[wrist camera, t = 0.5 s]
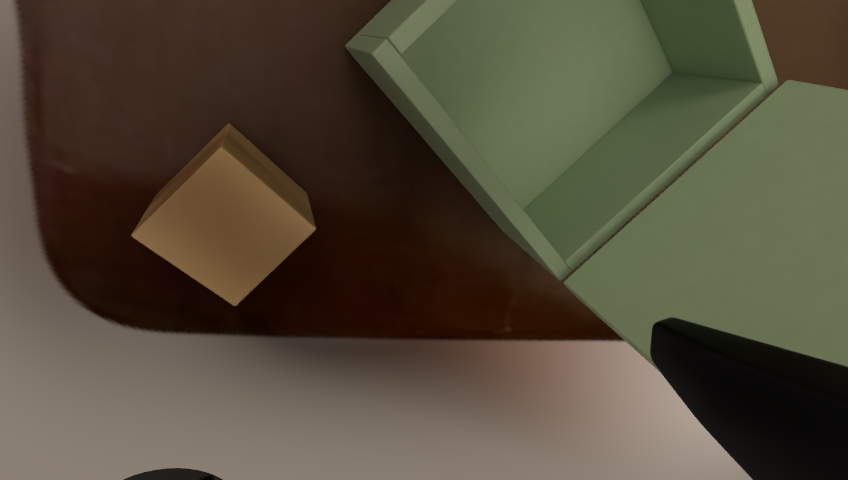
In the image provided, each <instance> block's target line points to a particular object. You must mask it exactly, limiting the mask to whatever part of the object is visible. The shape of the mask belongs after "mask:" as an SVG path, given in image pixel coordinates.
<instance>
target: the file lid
mask: <svg viewBox="0 0 848 480" xmlns="http://www.w3.org/2000/svg"><path fill="white" fill-rule="evenodd" d="M564 285H565V286H566V287H567V288H568V290H569V291H570V292H571V293H572V294H574V295H575V296H576V297H577V298H578V299H579V300H580V301H581V302H583V303H584V304H585V305H586V306H587V307H588V308H589V309H590V310H591V311H593V312H594V313H595V314H596V315H597V316H598V317H599V318H600V319H602V320H603V321H604V322H605V323H606V324H607V325H608V326H609V327H610V328H612V329H613V330H614V331H615V332H616V333H617V334H618V335H619V336H621V337H622V338H623V339H624V340H625V341H626V342H627V343H628V344H630V345H631V346H632V347H633V348H634V349H635V350H636V351H637V352H638V353H640V354H641V355H642V356H643V357H644V358H645V359H646V360H648V361H649V362H650V363H651V364H652V365H653V366H654V367H655V368H657V367H656V366H655V364H654V363H653V361H652V359H651V355H650V346H651V335H652V327H653V325H654V323H656V322H657V321H660V320H663V319H666V318H670V317H674V318H678V319H682V320H685V321H689V322H692V323H696V324H699V325H703V326H706V327H710V328H713V329H717V330H721V331H724V332H728V333H731V334H735V335H738V336H742V337H745V338H749V339H752V340H756V341H759V342H763V343H766V344H770V345H773V346H777V347H780V348H784V349H787V350H791V351H794V352H798V353H801V354H805V355H808V356H812V357H815V358H819V359H823V360H826V361H830V362H833V363H837V364H840V365H844V366H847V367H848V90H844V89H838V88H833V87H827V86H821V85H816V84H810V83H804V82H798V81H793V80H787V81H786V82H785V83H784V84H782V85H781V86H780V87H779V88H778V89H777V90H776V91H775V92H774V93H772V94H771V95H770V96H769V97H768V98H767V99H766V100H765V101H764V102H762V103H761V104H760V105H759V106H758V107H757V108H756V109H755V110H754V111H753V112H751V113H750V114H749V115H748V116H747V117H746V118H745V119H744V120H743V121H741V122H740V123H739V124H738V125H737V126H736V127H735V128H734V129H733V130H731V131H730V132H729V133H728V134H727V135H726V136H725V137H724V138H723V139H722V140H720V141H719V142H718V143H717V144H716V145H715V146H714V147H713V148H712V149H710V150H709V151H708V152H707V153H706V154H705V155H704V156H703V157H702V158H700V159H699V160H698V161H697V162H696V163H695V164H694V165H693V166H692V167H690V168H689V169H688V170H687V171H686V172H685V173H684V174H683V175H682V176H681V177H679V178H678V179H677V180H676V181H675V182H674V183H673V184H672V185H671V186H669V187H668V188H667V189H666V190H665V191H664V192H663V193H662V194H661V195H659V196H658V197H657V198H656V199H655V200H654V201H653V202H652V203H651V204H650V205H648V206H647V207H646V208H645V209H644V210H643V211H642V212H641V213H640V214H638V215H637V216H636V217H635V218H634V219H633V220H632V221H631V222H630V223H628V224H627V225H626V226H625V227H624V228H623V229H622V230H621V231H620V232H619V233H617V234H616V235H615V236H614V237H613V238H612V239H611V240H610V241H609V242H607V243H606V244H605V245H604V246H603V247H602V248H601V249H600V250H599V251H597V252H596V253H595V254H594V255H593V256H592V257H591V258H590V259H589V260H588V261H586V262H585V263H584V264H583V265H582V266H581V267H580V268H579V269H578V270H576V271H575V272H574V273H573V274H572V275H571V276H570V277H569V278H568V279H566V280H565V281H564ZM657 369H658V368H657Z"/></svg>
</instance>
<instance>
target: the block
mask: <svg viewBox="0 0 848 480" xmlns="http://www.w3.org/2000/svg"><path fill="white" fill-rule="evenodd" d="M315 230H316V226H315V222H314V218H313V215H312V211H311V207H310V203H309V199H308V196H307V193H306V192H305V191H304V190H303V189H302V188H301V187H300V186H299V185H298V184H296V183H295V182H294V181H293V180H292V179H291V178H290V177H289V176H288V175H286V174H285V173H284V172H283V171H282V170H281V169H280V168H279V167H278V166H276V165H275V164H274V163H273V162H272V161H271V160H270V159H269V158H268V157H267V156H265V155H264V154H263V153H262V152H261V151H260V150H259V149H258V148H257V147H255V146H254V145H253V144H252V143H251V142H250V141H249V140H248V139H247V138H245V137H244V136H243V135H242V134H241V133H240V132H239V131H238V130H237V129H236V128H234V127H233V126H232V125H231V124H227V125H226V126H225V127H224V128H223V129H222V130H221V131H220V132H219V133H218V134H217V135H216V136H215V137H214V138H213V139H212V140H211V141H210V142H209V143H208V144H207V145H206V146H205V147H204V148H203V149H202V150H201V151H200V152H199V153H198V154H197V155H196V156H195V157H194V158H193V159H192V160H191V161H190V162H189V163H188V164H187V165H186V166H185V167H183V168H182V169H181V170H180V171H179V172H178V173H177V174H176V175H175V176H174V177H173V178H172V179H171V180H170V181H169V182H168V183H167V184H166V185H165V186H164V187H163V188H162V189H161V190H160V191H159V192H158V193H157V194H156V195H155V197H154V199H153V200H152V202H151V204H150V205H149V207H148V208H147V210H146V212H145V213H144V215H143V216H142V218H141V220H140V221H139V223H138V225H137V226H136V228H135V229H134V231H133V233H132V235H131V236H132V237H133V238H135V239H136V240H137V241H139V242H140V243H142V244H143V245H145V246H146V247H148V248H149V249H151V250H152V251H154V252H155V253H157V254H158V255H160V256H161V257H163V258H164V259H166V260H167V261H169V262H170V263H171V264H173V265H174V266H176V267H177V268H179V269H180V270H182V271H183V272H185V273H186V274H188V275H189V276H191V277H192V278H194V279H195V280H197V281H198V282H200V283H201V284H202V285H204V286H205V287H207V288H208V289H210V290H211V291H213V292H214V293H216V294H217V295H219V296H220V297H222V298H223V299H225V300H226V301H228V302H229V303H231V304H232V305H233V306H236V305H237V304H238V303H239V302H240V301H241V300H243V299H244V298H245V297H246V296H247V295H248V294H249V293H250V292H251V291H252V290H253V289H254V288H255V287H256V286H257V285H258V284H259V283H260V282H261V281H262V280H263V279H265V278H266V277H267V276H268V275H269V274H270V273H271V272H272V271H273V270H274V269H275V268H276V267H277V266H278V265H279V264H280V263H281V262H282V261H283V260H284V259H286V258H287V257H288V256H289V255H290V254H291V253H292V252H293V251H294V250H295V249H296V248H297V247H298V246H299V245H300V244H301V243H302V242H303V241H304V240H305V239H307V238H308V237H309V236H310V235H311V234H312V233H313V232H314V231H315Z"/></svg>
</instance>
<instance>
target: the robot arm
mask: <svg viewBox="0 0 848 480" xmlns="http://www.w3.org/2000/svg"><path fill="white" fill-rule="evenodd" d="M650 355H651V359H652V361H653V363H654V364H655V366H656V367H657V368H658V370H659V371H660V372H661V373H662V375H663V376H664V377H665V378H666V380H667V381H668V382H669V383H670V385H671V386H672V387H673V389H674V390H675V391H676V393H677V394H678V395H679V397H680V398H681V399H682V400H683V402H684V403H685V404H686V405H687V407H688V408H689V409H690V411H691V412H692V413H693V415H694V416H695V417H696V418H697V419H698V421H699V422H700V423H701V424H702V425H703V426H704V427H705V428H706V430H707V431H708V432H709V433H710V434H711V435H712V436H713V437H714V438H715V440H716V441H718V443H719V444H720V445H721V446H722V447H723V448H724V449H725V450H726V451H727V452H728V453H729V455H730V456H731V457H732V458H733V459H734V460H735V461H736V462H737V463H738V464H739V465H740V466H741V467H742V468H743V470H745V472H746V473H747V474H748V475H749V476H750V477H751V478H752V479H753V480H848V367H847V366H844V365H840V364H837V363H833V362H830V361H826V360H823V359H819V358H815V357H812V356H808V355H805V354H801V353H798V352H794V351H791V350H787V349H784V348H780V347H777V346H773V345H770V344H766V343H763V342H759V341H756V340H752V339H749V338H745V337H742V336H738V335H735V334H731V333H728V332H724V331H721V330H717V329H713V328H710V327H706V326H703V325H699V324H696V323H692V322H689V321H685V320H682V319H678V318H674V317H670V318H666V319H663V320H660V321H657V322H656V323H654V325H653V327H652V335H651V346H650ZM195 480H218V479H217V478H216V477H215V476H214V475H207V476H204V477H201V478H198V479H195Z"/></svg>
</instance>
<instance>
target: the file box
mask: <svg viewBox="0 0 848 480" xmlns="http://www.w3.org/2000/svg"><path fill="white" fill-rule="evenodd" d="M345 48H346V49H347V50H348V51H349V53H350V54H351V55H352V56H353V57H354V58H355V60H356V61H357V62H358V63H359V64H360V65H361V67H362V68H363V69H364V70H365V71H366V73H367V74H368V75H369V76H370V77H371V78H372V80H373V81H374V82H375V83H376V84H377V85H378V87H379V88H380V89H381V90H382V91H383V92H384V94H385V95H386V96H387V97H388V98H389V99H390V101H391V102H392V103H393V104H394V105H395V106H396V108H397V109H398V110H399V111H400V112H401V113H402V115H403V116H404V117H405V118H406V119H407V120H408V122H409V123H410V124H411V125H412V126H413V127H414V129H415V130H416V131H417V132H418V133H419V134H420V136H421V137H422V138H423V139H424V140H425V141H426V143H427V144H428V145H429V146H430V147H431V148H432V150H433V151H434V152H435V153H436V154H437V155H438V157H439V158H440V159H441V160H442V161H443V162H444V164H445V165H446V166H447V167H448V168H449V169H450V171H451V172H452V173H453V174H454V175H455V176H456V178H457V179H458V180H459V181H460V182H461V183H462V185H463V186H464V187H465V188H466V189H467V190H468V192H469V193H470V194H471V195H472V196H473V197H474V199H475V200H476V201H477V202H478V203H479V204H480V206H481V207H482V208H483V209H484V210H485V211H486V213H487V214H488V215H489V216H490V217H491V218H492V220H493V221H494V222H495V223H496V224H497V225H498V227H499V228H500V229H501V230H502V231H503V232H504V233H505V234H506V235H507V236H508V237H509V238H511V239H512V240H513V241H514V242H515V243H516V244H517V245H519V246H520V247H521V248H522V249H523V250H524V251H526V252H527V253H528V254H529V255H530V256H531V257H532V258H534V259H535V260H536V261H537V262H538V263H539V264H541V265H542V266H543V267H544V268H545V269H546V270H547V271H549V272H550V273H551V274H552V275H553V276H554V277H556V278H557V279H558V280H559V281H561V280H562V279H564V278H565V277H566V276H567V275H568V274H569V273H570V272H571V270H574V269H575V268H576V267H577V266H578V265H579V264H580V263H582V262H583V261H584V260H585V259H586V258H587V257H588V256H589V255H590V254H591V253H593V252H594V251H595V250H596V249H597V248H598V247H599V246H600V245H601V244H603V243H604V242H605V241H606V240H607V239H608V238H609V237H610V236H611V235H613V234H614V233H615V232H616V231H617V230H618V229H619V228H620V227H621V226H622V225H624V224H625V223H626V222H627V221H628V220H629V219H630V218H631V217H632V216H634V215H635V214H636V213H637V212H638V211H639V210H640V209H641V208H642V207H643V206H645V205H646V204H647V203H648V202H649V201H650V200H651V199H652V198H653V197H655V196H656V195H657V194H658V193H659V192H660V191H661V190H662V189H663V188H665V187H666V186H667V185H668V184H669V183H670V182H671V181H672V180H673V179H674V178H676V177H677V176H678V175H679V174H680V173H681V172H682V171H683V170H684V169H686V168H687V167H688V166H689V165H690V164H691V163H692V162H693V161H694V160H696V159H697V158H698V157H699V156H700V155H701V154H702V153H703V152H704V151H705V150H707V149H708V148H709V147H710V146H711V145H712V144H713V143H714V142H715V141H717V140H718V139H719V138H720V137H721V136H722V135H723V134H724V133H725V132H727V131H728V130H729V129H730V128H731V127H732V126H733V125H734V124H735V123H736V122H738V121H739V120H740V119H741V118H742V117H743V116H744V115H745V114H746V113H748V112H749V111H750V110H751V109H752V108H753V107H754V106H755V105H756V104H757V103H759V102H760V101H761V100H762V99H763V98H764V97H765V96H766V94H768V93H769V92H770V91H772V90H773V89H774V88H775V87H776V86H777V85H778V80H777V77H776V74H775V71H774V68H773V65H772V61H771V58H770V55H769V52H768V49H767V46H766V43H765V40H764V37H763V34H762V31H761V28H760V25H759V22H758V19H757V15H756V12H755V9H754V6H753V3H752V0H391V1H390V2H389V3H388V4H387V5H386V6H385V7H384V8H383V9H382V10H381V11H380V12H378V13H377V14H376V15H375V16H374V17H373V18H372V19H371V20H370V21H369V22H368V23H367V24H366V25H365V26H364V27H363V28H362V29H361V30H360V31H359V32H358V33H357V34H356V35H355V36H354V37H353V38H352V39H351V40H350V41H349V42H348V43H347V44H346V45H345Z"/></svg>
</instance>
